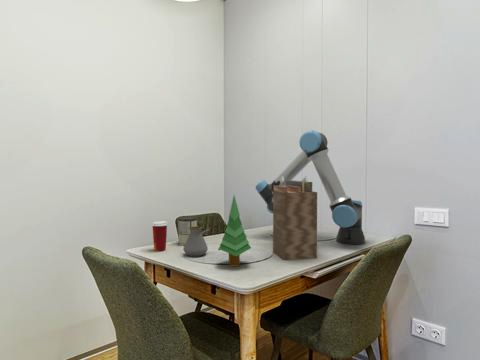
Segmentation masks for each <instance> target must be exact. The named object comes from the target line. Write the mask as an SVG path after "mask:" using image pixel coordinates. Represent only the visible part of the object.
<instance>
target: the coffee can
mask: <svg viewBox="0 0 480 360" xmlns="http://www.w3.org/2000/svg"><path fill="white" fill-rule="evenodd" d="M177 220H178V221H177V222H178V223H177V224H178V227H177V228H178V229H177V230H178V245H179V246H183V247H184V246H185V244H186V241H187V239H188V236H189V234H190V229H189V227H198V217H196V216H181V217H178V218H177Z"/></svg>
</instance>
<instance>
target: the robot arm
mask: <svg viewBox="0 0 480 360" xmlns="http://www.w3.org/2000/svg"><path fill="white" fill-rule="evenodd" d="M299 147H300V149H301V150H302V151H301V152H300V153H299V154H298V155H297V156H296V157H295V158H294V159H293V160H292V161H291V162H290V164H288V165H287V166H286V168H285V169H283V171H282V172H280V174H278V176H277V177H276V178H275V179H274V180H273V181H272V182H271V183H269V182H267V181H266V180H264V179H263V180H261V181H260V182H258V183H257V184H256V185H255V190H256V191H257V193H258V194H259V195H260V197H261V198H262V199H263V200H264V202H265V204H266V209H267V211H268V212H269V213H270V214H273V191H274V186H284V187H286V181H292V180H293V179H294V178H295V177H297V176H298V174H300V173H301V171H303V170H304V168H305V167H307V166H308V164H310V163H311V162H312V163H313V166H314V168H315V170H316V172H317V175H318V177H319V179H320V181H321V183H322V186H323V188H324V190H325V193H326V195H327V197H328V199H329V201H330V203H329V209H330V210H331V218H332V220H333V222H334V223H335V224H336V226H338V227H339V229H338V231H337V233H336V239H335V240H336V242H337V243H341V244H345V245H362V244H365V243H366V237H365V235H364V231H363V227H362V226H363V224H362V223H363V222H362V221H363V203H362V201H361V200H356V199H355V200H354V199H352V198H351V197H350V196H348V195H346V192H345V190H344V188H343V185H342V183H341V181H340V179H339V177H338V175H337V173H336V171H335V167H334V166H333V164H332V162H331V159H330V157H329V155H328V153H329V148H328V139H327V136H326V135H324V134H323V133H321V132H318V131H316V130H307V131H305V132H304V133H303V134H302V135H301V136H300V137H299ZM301 181H305V182H309V181H308V177H307V176H304V177H303V178H302V180H301Z"/></svg>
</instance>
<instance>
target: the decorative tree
mask: <svg viewBox="0 0 480 360" xmlns="http://www.w3.org/2000/svg"><path fill="white" fill-rule="evenodd" d="M239 211H240V210H239V208H238V204H237V201H236V196H235V195H233V198H232V201H231V207H230V211H229V215H228V222H227V225H226V229H225V231H224V235H223V237H222V240H221V242H220V244H219V247H218V248H217V250H218V251H220V250H221V251H222V252H225V253H228V266H231V267H238V266H241V264H240V262H241V261H240V260H241V259H240V256H241V254H244V253H246V252H247V251H249V250H251V249H252V246H251V245H250V244H249V243H250V242H249V240H248V239H247V235H246V233H245V229H244V228H243V223H242V221H241V218H240V216H241V215H240V212H239Z"/></svg>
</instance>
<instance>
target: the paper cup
mask: <svg viewBox="0 0 480 360" xmlns="http://www.w3.org/2000/svg"><path fill="white" fill-rule="evenodd" d="M151 226H152V234H153V235H152V238H153V250H154V251H155V252H164V251H166V249H167V234H168V233H167V232H168V231H167V230H168V221H164V220H162V221H161V220H160V221H153V222H152V224H151Z"/></svg>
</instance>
